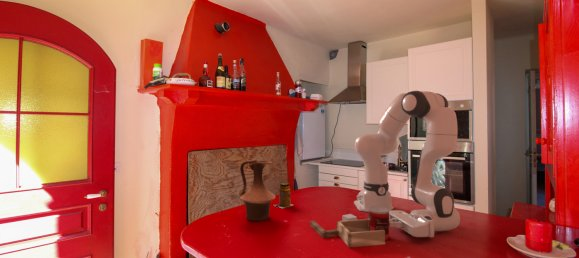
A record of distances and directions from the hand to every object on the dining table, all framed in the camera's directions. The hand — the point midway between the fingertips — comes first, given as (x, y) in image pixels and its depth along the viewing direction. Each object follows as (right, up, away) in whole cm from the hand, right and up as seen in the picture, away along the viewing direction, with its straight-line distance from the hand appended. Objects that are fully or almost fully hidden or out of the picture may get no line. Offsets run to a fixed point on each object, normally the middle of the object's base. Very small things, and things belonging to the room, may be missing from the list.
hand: (387, 223), depth 109 cm
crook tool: (-24, -5, +7) cm, 26 cm away
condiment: (-42, -5, +43) cm, 60 cm away
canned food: (-4, -5, 0) cm, 6 cm away
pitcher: (-54, -5, +24) cm, 59 cm away
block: (-13, -5, +11) cm, 18 cm away
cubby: (-11, -5, -2) cm, 13 cm away
